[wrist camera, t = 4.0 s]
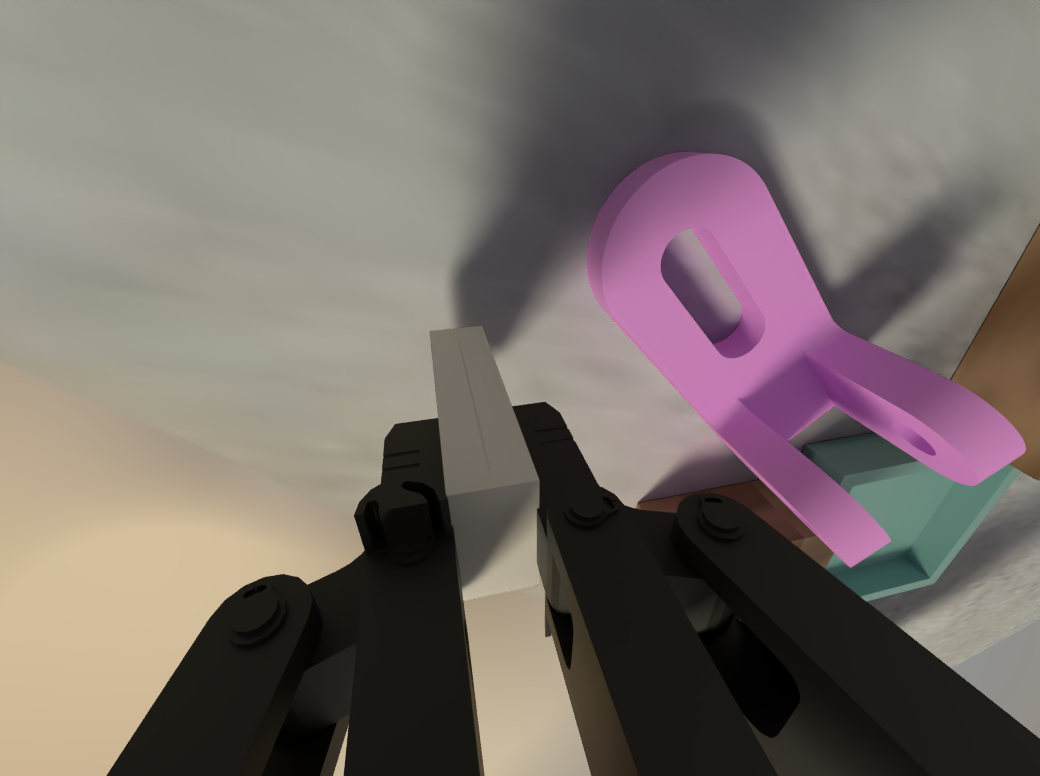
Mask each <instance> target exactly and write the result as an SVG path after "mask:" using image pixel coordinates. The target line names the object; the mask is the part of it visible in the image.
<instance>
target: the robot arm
mask: <svg viewBox="0 0 1040 776" xmlns="http://www.w3.org/2000/svg"><path fill="white" fill-rule="evenodd" d="M430 340H431V350H432V360H433V370H434V381H435V391H436V401H437V411H438V418H435V419H428V420H421V421H413V422H406V423H399V424H395V425H394V426H393V428H392V429H391V431H390V432H389V434H388V435H387V436H386V438H385V441H384V453H383V456H384V458H383V465H382V471H383V472H382V477H381V484H380V485H378V486H377V487H375V488H373V489H371V490H370V491H369V492H368V493H367V494H366V495H365V496H364V498H363V499H362V500H361V501H360V502H359V504H358V507H357V509H356V512H355V514H354V517H355V520H356V523H357V527H358V530H359V533H360V536H361V539H362V543H363V546H364V549H365V551H364V552H363V553H362V554H361V555H360V556H359V557H358V558H356V559H355V560H354V561H353V562H352V563H350V564H348V565H347V566H345V567H343V568H341V569H340V570H338V571H336V572H334V573H332V574H329V575H327V576H325V577H323V578H321V579H319V580H317V581H315V582H312V583H310V584H308V585H307V584H306V583H304V582H303V581H302V580H301V579H300V578H299V577H294V576H290V575H285V574H281V575H275V576H269V577H264V578H261V579H259V580H257V581H255V582H252V583H250V584H248V585H245V586H244V587H242V588H241V589H239V590H238V591H237V592H235V593H234V594H233V595H232V596H230V597H229V598H227V599H226V600H225V601H224V602H223V603H222V604H221V605H220V607H219V608H218V609H217V610H216V611H215V612H214V614H213V615H212V616H211V617H210V618H209V620H208V621H207V623H206V625H205V626H204V628H203V629H202V631H201V632H200V634H199V635H198V637H197V638H196V640H195V641H194V643H193V644H192V646H191V648H190V649H189V650H188V652H187V653H186V655H185V657H184V658H183V660H182V661H181V663H180V664H179V666H178V667H177V669H176V670H175V672H174V673H173V675H172V677H171V678H170V679H169V681H168V682H167V684H166V686H165V687H164V689H163V690H162V692H161V693H160V695H159V696H158V698H157V699H156V701H155V702H154V704H153V705H152V707H151V708H150V710H149V712H148V713H147V715H146V716H145V718H144V719H143V721H142V722H141V724H140V725H139V727H138V728H137V730H136V732H135V733H134V734H133V736H132V737H131V739H130V741H129V742H128V744H127V745H126V747H125V748H124V750H123V751H122V753H121V754H120V756H119V757H118V759H117V761H116V762H115V764H114V765H113V767H112V768H111V770H110V771H109V773H108V774H107V776H333V774H334V770H335V767H336V764H337V761H338V757H339V754H340V750H341V747H342V744H343V741H344V738H345V734H346V731H347V728H348V725H349V728H348V738H347V747H346V759H345V768H344V776H484V768H483V759H482V751H481V743H480V735H479V726H478V718H477V709H476V700H475V692H474V683H473V675H472V666H471V658H470V650H469V641H468V633H467V626H466V619H465V611H464V603H463V601H466V600H470V599H475V598H479V597H484V596H489V595H494V594H498V593H503V592H508V591H512V590H517V589H522V588H526V587H531V586H536V585H539V572H540V576H541V579H542V582H543V586H544V589H545V636H546V637H548V636H551V633H552V636H553V640H554V644H555V647H556V651H557V654H558V658H559V661H560V665H561V669H562V672H563V675H564V679H565V683H566V686H567V689H568V694H569V697H570V701H571V704H572V708H573V712H574V715H575V719H576V722H577V726H578V729H579V733H580V737H581V740H582V744H583V747H584V751H585V754H586V758H587V762H588V765H589V769H590V772H591V776H1040V739H1039V738H1038V737H1037V736H1036V735H1034V734H1033V733H1032V732H1031V731H1029V730H1028V729H1027V728H1026V727H1024V726H1023V725H1022V724H1020V723H1019V722H1018V721H1017V720H1015V719H1014V718H1013V717H1012V716H1010V715H1009V714H1008V713H1007V712H1005V711H1004V710H1003V709H1002V708H1000V707H999V706H998V705H996V704H995V703H994V702H993V701H991V700H990V699H989V698H987V697H986V696H985V695H984V694H983V693H981V692H980V691H979V690H977V689H976V688H975V687H974V686H972V685H971V684H970V683H969V682H967V681H966V680H965V679H964V678H962V677H961V676H960V675H958V674H957V673H956V672H955V671H954V670H952V669H951V668H950V667H949V666H947V665H946V664H945V663H943V662H942V661H941V660H940V659H938V658H937V657H936V656H935V655H933V654H932V653H931V652H930V651H928V650H927V649H926V648H925V647H923V646H922V645H921V644H919V643H918V642H917V641H916V640H914V639H913V638H912V637H911V636H909V635H908V634H907V633H906V632H904V631H903V630H902V629H901V628H899V627H898V626H897V625H895V624H894V623H893V622H892V621H890V620H889V619H888V618H887V617H885V616H884V615H883V614H882V613H880V612H879V611H878V610H877V609H875V608H874V607H873V606H871V605H870V604H869V603H868V602H866V601H865V600H864V599H863V598H861V597H860V596H859V595H858V594H856V593H855V592H854V591H853V590H851V589H850V588H849V587H847V586H846V585H845V584H844V583H842V582H841V581H840V580H839V579H837V578H836V577H835V576H834V575H832V574H831V573H830V572H829V571H827V570H826V569H825V568H824V567H822V566H821V565H820V564H818V563H817V562H816V561H815V560H813V559H812V558H811V557H810V556H808V555H807V554H806V553H805V552H803V551H802V550H801V549H800V548H798V547H797V546H796V545H794V544H793V543H792V542H791V541H789V540H788V539H787V538H786V537H784V536H783V535H782V534H781V533H779V532H778V531H777V530H776V529H774V528H773V527H772V526H770V525H769V524H768V523H767V522H765V521H764V520H763V519H762V518H760V517H759V516H758V515H757V514H755V513H754V512H753V511H752V510H750V509H749V508H747V507H746V506H744V505H743V504H741V503H739V502H738V501H736V500H734V499H732V498H729V497H726V496H723V495H720V494H714V493H698V494H693V495H689V496H688V497H686V498H685V499H684V500H682V501H681V502H680V503H679V506H678V509H677V511H676V513H673V512H661V511H649V510H641V509H635V508H631V507H628V506H625V505H624V504H623V503H622V502H621V501H620V500H619V499H618V497H617V496H616V495H615V494H613V493H611V492H610V491H608V490H606V489H604V488H603V487H600V486H599V485H598V483H597V481H596V480H595V478H594V476H593V474H592V472H591V470H590V468H589V466H588V465H587V463H586V461H585V459H584V457H583V455H582V453H581V451H580V450H579V448H578V446H577V444H576V442H575V441H574V440H573V436H572V435H571V433H570V431H569V429H567V425H566V423H565V421H564V420H563V418H562V416H561V414H560V412H558V411H557V410H556V409H554V408H553V407H551V406H550V405H549V404H547V403H546V402H540V403H533V404H526V405H519V406H512V405H511V402H510V400H509V397H508V394H507V392H506V389H505V386H504V384H503V381H502V378H501V375H500V373H499V370H498V367H497V365H496V362H495V359H494V357H493V354H492V351H491V349H490V346H489V343H488V341H487V338H486V335H485V332H484V330H483V327H482V326H474V327H464V328H454V329H445V330H435V331H430Z"/></svg>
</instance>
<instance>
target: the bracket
mask: <svg viewBox="0 0 1040 776" xmlns="http://www.w3.org/2000/svg"><path fill="white" fill-rule="evenodd" d="M687 228H691V229H692V230H693V232H694V233H695V235H696V237H697V238H698V240H699V241H700V243H701V244H702V246H703V247H704V249H705V250H706V252H707V253H708V255H709V256H710V258H711V260H712V261H713V263H714V264H715V266H716V267H717V269H718V270H719V272H720V273H721V275H722V276H723V278H724V280H725V281H726V283H727V284H728V286H729V287H730V289H731V290H732V292H733V293H734V295H735V296H736V298H737V299H738V301H739V303H740V304H741V308H742V316H741V320H740V323H739V325H738V326H737V328H736V329H735V331H734V332H733V333H732V334H731V335H730V336H729V337H727V338H726V339H724V340H723V341H720V342H718V343H713V344H712V343H711V342H710V340H709V339H708V338H707V336H706V335H705V334H704V332H703V331H702V330H701V328H700V327H699V326H698V324H697V323H696V322H695V320H694V319H693V318H692V316H691V315H690V314H689V313H688V311H687V310H686V309H685V307H684V306H683V305H682V303H681V302H680V301H679V299H678V298H677V297H676V295H675V294H674V293H673V291H672V290H671V289H670V287H669V286H668V285H667V283H666V282H665V281H664V279H663V277H662V274H661V259H662V255H663V252H664V250H665V248H666V246H667V245H668V243H669V242H670V241H671V240H672V239H673V238H674V237H675V236H676V235H677V234H678V233H680V232H681V231H683V230H685V229H687ZM587 274H588V279H589V283H590V287H591V290H592V292H593V294H594V297H595V299H596V300H597V302H598V303H599V305H600V306H601V307H602V309H603V310H604V311H605V312H606V313H607V314H608V316H609V317H610V318H611V319H612V320H613V321H614V322H615V323H616V324H617V325H618V327H619V328H620V329H621V330H622V331H623V332H624V333H625V334H626V335H627V336H628V338H629V339H630V340H631V341H632V342H633V343H634V344H635V345H636V346H637V347H638V349H639V350H640V351H641V352H642V353H643V354H644V355H645V356H646V357H647V358H648V360H649V361H650V362H651V363H652V364H653V365H654V366H655V367H656V368H657V369H658V371H659V372H660V373H661V374H662V375H663V376H664V377H665V378H666V379H667V380H668V381H669V383H670V384H671V385H672V386H673V387H674V388H675V389H676V390H677V391H678V392H679V394H680V395H681V396H682V397H683V398H684V399H685V400H686V401H687V402H688V403H689V405H690V406H691V407H692V408H693V409H694V410H695V411H696V412H697V413H698V414H699V416H700V417H701V418H702V419H703V420H704V421H705V422H706V423H707V424H708V425H709V427H710V428H711V429H712V430H713V431H714V432H715V433H716V434H717V435H718V436H719V438H720V439H721V440H722V441H723V442H724V443H725V444H726V445H727V446H728V447H729V449H730V450H731V451H732V452H733V453H734V454H735V455H736V456H737V457H738V458H739V459H740V460H741V461H742V462H743V463H744V464H745V465H746V466H747V467H748V468H749V469H750V470H751V471H752V472H753V473H754V474H755V475H756V476H757V477H758V478H759V479H760V480H761V481H762V482H763V483H764V484H765V485H766V486H767V487H768V488H769V489H770V490H771V491H772V492H773V493H774V494H775V495H776V496H777V497H778V498H779V499H780V500H781V501H782V502H783V503H784V504H785V505H786V506H787V507H788V508H789V509H790V510H791V511H792V512H793V513H794V514H795V515H796V516H797V517H798V518H799V519H800V520H801V521H802V522H803V523H804V524H805V525H806V526H807V527H808V528H809V529H811V530H812V531H813V532H814V533H815V534H816V535H817V536H818V537H819V538H820V539H821V540H822V541H823V542H824V543H825V544H826V545H827V546H828V547H829V548H830V549H831V550H832V551H833V552H834V553H835V554H836V555H837V556H838V557H839V558H840V559H841V560H842V561H843V562H844V563H845V564H846V565H848V566H849V567H850V568H851V567H853V566H854V565H856V564H857V563H859V562H860V561H862V560H863V559H865V558H867V557H868V556H870V555H871V554H873V553H874V552H876V551H877V550H879V549H880V548H882V547H883V546H885V545H886V544H888V543H889V542H891V539H890V537H889V536H888V535H887V533H886V532H885V531H884V530H883V528H882V527H881V526H880V525H879V524H878V523H877V522H876V521H875V519H874V518H873V517H872V516H871V515H870V514H869V513H868V512H867V511H866V510H865V509H864V508H863V507H862V506H861V505H860V504H859V503H858V502H857V501H856V500H855V499H854V498H853V497H852V496H850V495H849V494H848V493H847V492H846V491H845V490H844V489H843V488H842V487H841V486H840V485H839V484H837V483H836V482H835V481H834V480H833V479H832V478H831V477H829V476H828V475H827V474H826V473H825V472H824V471H822V470H821V469H820V468H819V467H818V466H816V465H815V464H814V463H813V462H812V461H810V460H809V459H808V458H807V457H806V456H804V455H803V454H802V453H801V452H799V451H798V450H797V449H796V448H795V447H793V446H792V445H791V444H790V443H789V442H788V441H789V440H790V439H792V438H793V437H794V436H796V435H797V434H798V433H799V432H801V431H802V430H803V429H805V428H806V427H807V426H809V425H810V424H811V423H813V422H814V421H815V420H817V419H818V418H819V417H820V416H822V415H823V414H824V413H826V412H827V411H828V410H830V409H831V408H832V407H834V406H835V407H837V408H838V409H840V410H841V411H843V412H844V413H846V414H847V415H849V416H850V417H852V418H853V419H855V420H857V421H858V422H860V423H861V424H863V425H864V426H866V427H867V428H869V429H870V430H872V431H873V432H875V433H877V434H878V435H880V436H881V437H883V438H884V439H886V440H887V441H889V442H890V443H892V444H894V445H895V446H897V447H898V448H900V449H901V450H903V451H904V452H906V453H907V454H909V455H910V456H912V457H914V458H915V459H917V460H918V461H920V462H921V463H923V464H924V465H926V466H927V467H929V468H931V469H932V470H934V471H936V472H937V473H939V474H941V475H943V476H945V477H947V478H949V479H951V480H953V481H955V482H958V483H961V484H964V485H968V486H975V485H977V484H979V483H980V482H982V481H983V480H985V479H986V478H988V477H989V476H991V475H992V474H994V473H995V472H997V471H998V470H1000V469H1001V468H1003V467H1005V466H1006V465H1008V464H1009V463H1011V462H1012V461H1014V460H1015V459H1017V458H1018V457H1020V456H1021V455H1023V454H1024V453H1025V451H1026V446H1025V443H1024V440H1023V438H1022V437H1021V435H1020V434H1019V432H1018V431H1017V430H1016V429H1015V427H1014V426H1013V425H1012V424H1011V423H1010V422H1009V421H1008V420H1007V419H1006V418H1005V417H1004V416H1003V415H1002V414H1001V413H999V412H998V411H997V410H996V409H995V408H993V407H992V406H991V405H990V404H988V403H987V402H986V401H984V400H983V399H981V398H980V397H978V396H977V395H976V394H974V393H972V392H971V391H969V390H968V389H966V388H964V387H963V386H961V385H959V384H957V383H956V382H954V381H952V380H950V379H948V378H946V377H944V376H942V375H939V374H937V373H935V372H933V371H931V370H929V369H926V368H924V367H922V366H920V365H918V364H916V363H913V362H911V361H909V360H907V359H905V358H903V357H900V356H898V355H896V354H894V353H892V352H890V351H887V350H885V349H883V348H881V347H879V346H876V345H874V344H872V343H870V342H868V341H866V340H863V339H861V338H859V337H857V336H855V335H853V334H850V333H848V332H846V331H845V330H843V329H842V328H841V327H839V326H838V325H837V324H836V323H835V322H834V321H833V319H832V318H831V316H830V314H829V312H828V310H827V308H826V306H825V304H824V302H823V300H822V297H821V295H820V293H819V291H818V289H817V287H816V285H815V283H814V281H813V279H812V277H811V275H810V273H809V271H808V269H807V267H806V265H805V263H804V261H803V259H802V257H801V255H800V253H799V251H798V249H797V247H796V245H795V243H794V241H793V239H792V237H791V235H790V233H789V231H788V229H787V227H786V225H785V223H784V221H783V219H782V217H781V215H780V213H779V211H778V209H777V207H776V205H775V203H774V201H773V199H772V197H771V195H770V193H769V191H768V189H767V187H766V185H765V184H764V182H763V180H762V179H761V177H760V176H759V175H758V174H757V172H756V171H754V170H753V169H752V168H751V167H750V166H749V165H747V164H746V163H744V162H743V161H741V160H738V159H736V158H734V157H730V156H727V155H722V154H712V153H699V152H676V153H670V154H666V155H663V156H660V157H657V158H655V159H652V160H650V161H648V162H647V163H645V164H643V165H641V166H640V167H638V168H637V169H635V170H634V171H633V172H631V173H630V174H629V175H628V176H627V177H625V178H624V179H623V180H622V181H621V182H620V183H619V184H618V186H617V187H616V188H615V189H614V190H613V192H612V193H611V194H610V195H609V197H608V198H607V200H606V201H605V203H604V204H603V206H602V208H601V210H600V212H599V213H598V216H597V218H596V220H595V222H594V225H593V228H592V231H591V234H590V239H589V243H588V250H587Z"/></svg>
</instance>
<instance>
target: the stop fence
mask: <svg viewBox="0 0 1040 776" xmlns="http://www.w3.org/2000/svg"><path fill="white" fill-rule="evenodd" d="M951 380H952V381H954V382H956V383H957V384H959V385H961V386H963V387H964V388H966V389H968V390H969V391H971V392H972V393H974V394H976V395H977V396H978V397H980V398H981V399H983V400H984V401H986V402H987V403H988V404H990V405H991V406H992V407H993V408H995V409H996V410H997V411H998V412H999V413H1001V414H1002V415H1003V416H1004V417H1005V418H1006V419H1007V420H1008V421H1009V422H1010V423H1011V424H1012V425H1013V426H1014V427H1015V429H1016V430H1017V431H1018V432H1019V434H1020V435H1021V437H1022V438H1023V440H1024V443H1025V446H1026V451H1025V453H1024V454H1023V455H1021V456H1020V457H1018V458H1017V459H1015V460H1014V461H1012V462H1011V463H1009V465H1011V466H1013V467H1014V468H1016V469H1018V470H1020V471H1022V472H1023V473H1025V474H1027V475H1029V476H1031V477H1032V478H1034V479H1036V480H1038V481H1039V480H1040V226H1039V228H1038V230H1037V231H1036V233H1035V235H1034V237H1033V238H1032V240H1031V242H1030V243H1029V245H1028V247H1027V249H1026V250H1025V252H1024V254H1023V256H1022V257H1021V259H1020V261H1019V263H1018V264H1017V266H1016V268H1015V270H1014V271H1013V273H1012V275H1011V277H1010V278H1009V280H1008V282H1007V284H1006V285H1005V287H1004V289H1003V291H1002V292H1001V294H1000V296H999V297H998V299H997V301H996V303H995V304H994V306H993V308H992V310H991V311H990V313H989V315H988V317H987V318H986V320H985V322H984V324H983V325H982V327H981V329H980V331H979V332H978V334H977V336H976V338H975V339H974V341H973V343H972V344H971V346H970V348H969V350H968V351H967V353H966V355H965V357H964V358H963V360H962V362H961V364H960V365H959V367H958V369H957V371H956V372H955V374H954V376H953V378H952V379H951Z"/></svg>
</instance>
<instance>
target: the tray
mask: <svg viewBox="0 0 1040 776" xmlns="http://www.w3.org/2000/svg"><path fill="white" fill-rule="evenodd" d="M802 454H803V455H804V456H806V457H807V458H808V459H809V460H810V461H812V462H813V463H814V464H815V465H816V466H818V467H819V468H820V469H821V470H822V471H824V472H825V473H826V474H827V475H828V476H829V477H831V478H832V479H833V480H834V481H835V482H836V483H837V484H839V485H840V486H841V487H842V488H843V489H844V490H845V491H846V492H847V493H848V494H849V495H850V496H852V497H853V498H854V499H855V500H856V501H857V502H858V503H859V504H860V505H861V506H862V507H863V508H864V509H865V510H866V511H867V512H868V513H869V514H870V515H871V516H872V517H873V518H874V519H875V521H876V522H877V523H878V524H879V525H880V526H881V527H882V528H883V530H884V531H885V532H886V533H887V535H888V536H889V537H890V539H891V542H889V543H888V544H886V545H885V546H883V547H882V548H880V549H879V550H877V551H876V552H874V553H873V554H871V555H870V556H868V557H867V558H865V559H863V560H862V561H860V562H859V563H857V564H856V565H854V566H853V567H851V568H850V567H849V566H848V565H846V564H845V563H844V562H843V561H842V560H841V559H840V558H839V557H838V556H837V555H836V554H835V553H834V554H833V556H832V558H831V560H830V562H829V563H828V565H827V567H826V570H827V571H829V572H830V573H831V574H832V575H834V576H835V577H836V578H837V579H839V580H840V581H841V582H842V583H844V584H845V585H846V586H847V587H849V588H850V589H851V590H853V591H854V592H855V593H856V594H858V595H859V596H860V597H861V598H863V599H864V600H865V601H866V602H867V601H871V600H874V599H878V598H882V597H886V596H890V595H893V594H897V593H901V592H905V591H909V590H913V589H916V588H920V587H924V586H928V585H932V584H934V583H935V582H936V581H937V580H938V578H939V577H940V576H941V574H942V573H943V572H944V570H945V569H946V568H947V567H948V565H949V564H950V563H951V561H952V560H953V559H954V557H955V556H956V555H957V554H958V552H959V551H960V550H961V548H962V547H963V546H964V544H965V543H966V542H967V541H968V539H969V538H970V537H971V535H972V534H973V533H974V532H975V530H976V529H977V528H978V526H979V525H980V524H981V522H982V521H983V520H984V519H985V517H986V516H987V515H988V513H989V512H990V511H991V509H992V508H993V507H994V506H995V504H996V503H997V502H998V500H999V499H1000V498H1001V497H1002V495H1003V494H1004V493H1005V491H1006V490H1007V489H1008V487H1009V486H1010V485H1011V484H1012V482H1013V481H1014V480H1015V478H1016V477H1017V476H1018V474H1019V473H1020V472H1021V471H1020V470H1018V469H1016V468H1014V467H1013V466H1011V465H1009V464H1008V465H1006V466H1005V467H1003V468H1001V469H1000V470H998V471H997V472H995V473H994V474H992V475H991V476H989V477H988V478H986V479H985V480H983V481H982V482H980V483H979V484H977V485H975V486H968V485H964V484H961V483H958V482H955V481H953V480H951V479H949V478H947V477H945V476H943V475H941V474H939V473H937V472H936V471H934V470H932V469H931V468H929V467H927V466H926V465H924V464H923V463H921V462H920V461H918V460H917V459H915V458H914V457H912V456H910V455H909V454H907V453H906V452H904V451H903V450H901V449H900V448H898V447H897V446H895V445H894V444H892V443H890V442H889V441H887V440H886V439H884V438H883V437H881V436H880V435H878V434H877V433H875V432H873V433H868V434H862V435H857V436H851V437H846V438H840V439H835V440H829V441H824V442H818V443H813V444H807V445H805V447H804V450H803V452H802Z"/></svg>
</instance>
